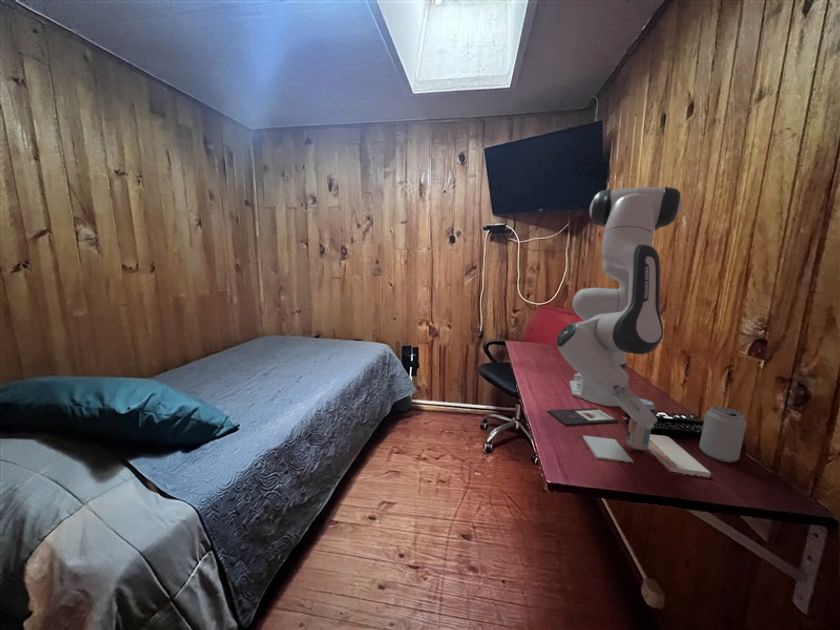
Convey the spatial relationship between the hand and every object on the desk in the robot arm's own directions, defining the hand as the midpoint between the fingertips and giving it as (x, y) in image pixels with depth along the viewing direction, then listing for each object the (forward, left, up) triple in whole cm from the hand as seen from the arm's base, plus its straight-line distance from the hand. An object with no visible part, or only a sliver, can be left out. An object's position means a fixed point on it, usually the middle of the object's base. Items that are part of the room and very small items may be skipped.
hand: (643, 421), depth 81 cm
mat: (+1, -8, -8) cm, 11 cm away
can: (-3, +20, -8) cm, 22 cm away
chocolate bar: (-17, -8, -9) cm, 21 cm away
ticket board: (0, +7, -8) cm, 11 cm away
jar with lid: (0, -1, -7) cm, 7 cm away
